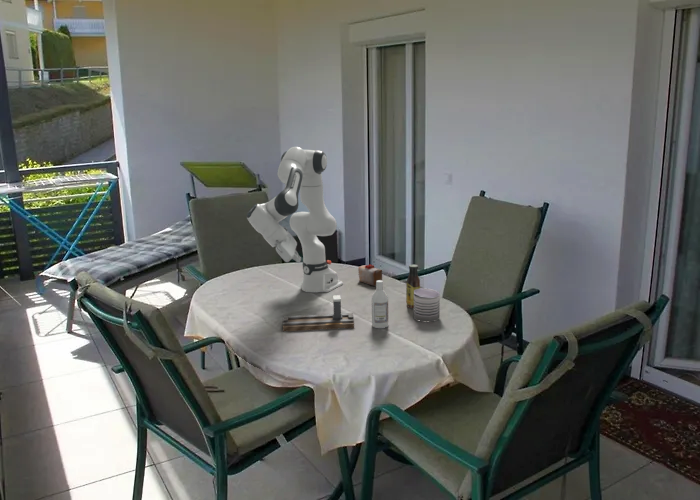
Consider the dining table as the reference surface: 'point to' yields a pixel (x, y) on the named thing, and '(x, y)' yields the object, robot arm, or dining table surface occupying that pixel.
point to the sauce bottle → (412, 285)
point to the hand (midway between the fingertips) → (299, 260)
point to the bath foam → (379, 307)
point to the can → (426, 304)
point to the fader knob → (337, 307)
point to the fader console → (317, 322)
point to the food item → (369, 274)
